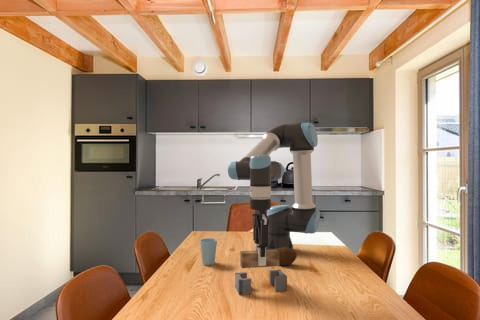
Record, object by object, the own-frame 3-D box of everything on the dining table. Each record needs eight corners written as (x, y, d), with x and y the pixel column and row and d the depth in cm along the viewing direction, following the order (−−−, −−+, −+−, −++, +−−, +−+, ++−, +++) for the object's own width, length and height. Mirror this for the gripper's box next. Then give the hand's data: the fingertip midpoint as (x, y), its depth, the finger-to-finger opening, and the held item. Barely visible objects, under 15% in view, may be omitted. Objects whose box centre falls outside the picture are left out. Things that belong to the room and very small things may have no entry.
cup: (219, 264, 139) (219, 241, 139) (202, 267, 135) (202, 243, 136) (213, 260, 145) (213, 237, 146) (197, 262, 142) (197, 239, 143)
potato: (273, 262, 141) (273, 245, 142) (295, 262, 141) (295, 245, 141) (275, 267, 134) (275, 249, 134) (298, 268, 134) (297, 249, 134)
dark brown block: (276, 263, 115) (276, 249, 115) (279, 266, 111) (279, 251, 111) (240, 265, 112) (240, 251, 112) (242, 268, 109) (242, 253, 109)
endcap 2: (280, 282, 117) (280, 269, 117) (287, 290, 110) (287, 276, 110) (269, 283, 116) (269, 270, 116) (275, 291, 109) (275, 277, 109)
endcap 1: (239, 294, 106) (239, 280, 106) (235, 286, 113) (235, 272, 114) (251, 293, 107) (251, 279, 107) (246, 285, 114) (246, 271, 114)
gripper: (245, 196, 119) (245, 257, 119) (256, 200, 103) (256, 272, 103) (263, 195, 121) (264, 256, 121) (277, 200, 105) (277, 270, 104)
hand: (260, 263), depth 112 cm, fingers closed on dark brown block, 3 cm apart
